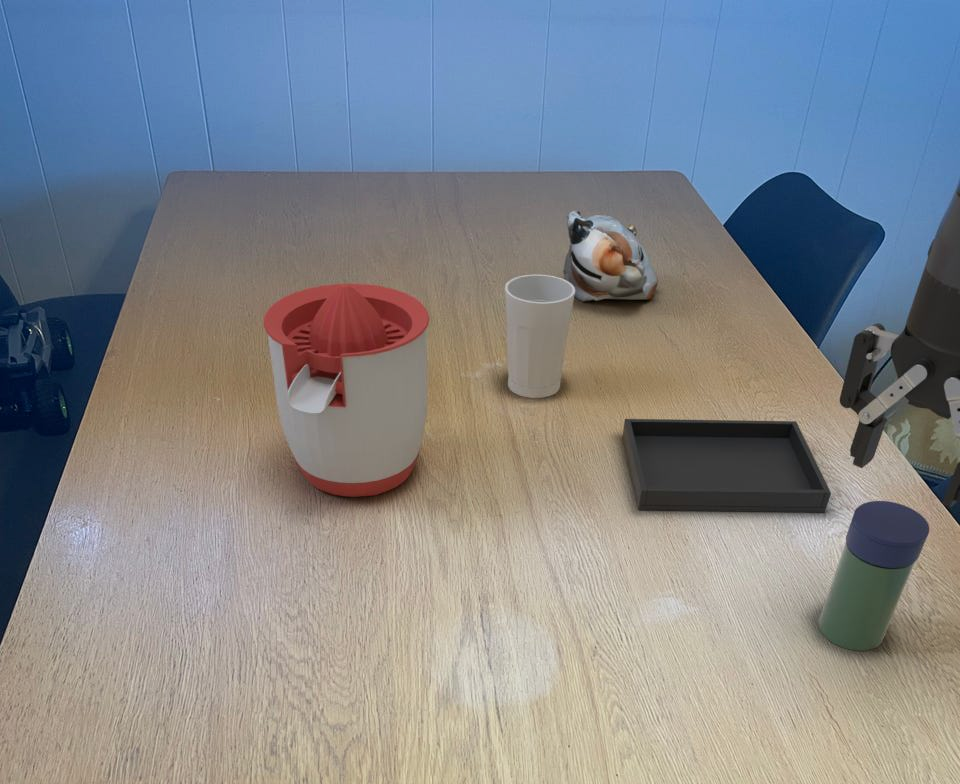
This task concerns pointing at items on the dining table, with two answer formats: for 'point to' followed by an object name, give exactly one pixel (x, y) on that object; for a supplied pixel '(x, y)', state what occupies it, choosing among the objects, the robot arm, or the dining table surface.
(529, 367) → the cup
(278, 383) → the citrus juicer
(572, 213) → the lucky cat figurine
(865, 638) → the jar
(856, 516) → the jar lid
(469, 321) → the dining table surface
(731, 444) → the tray
